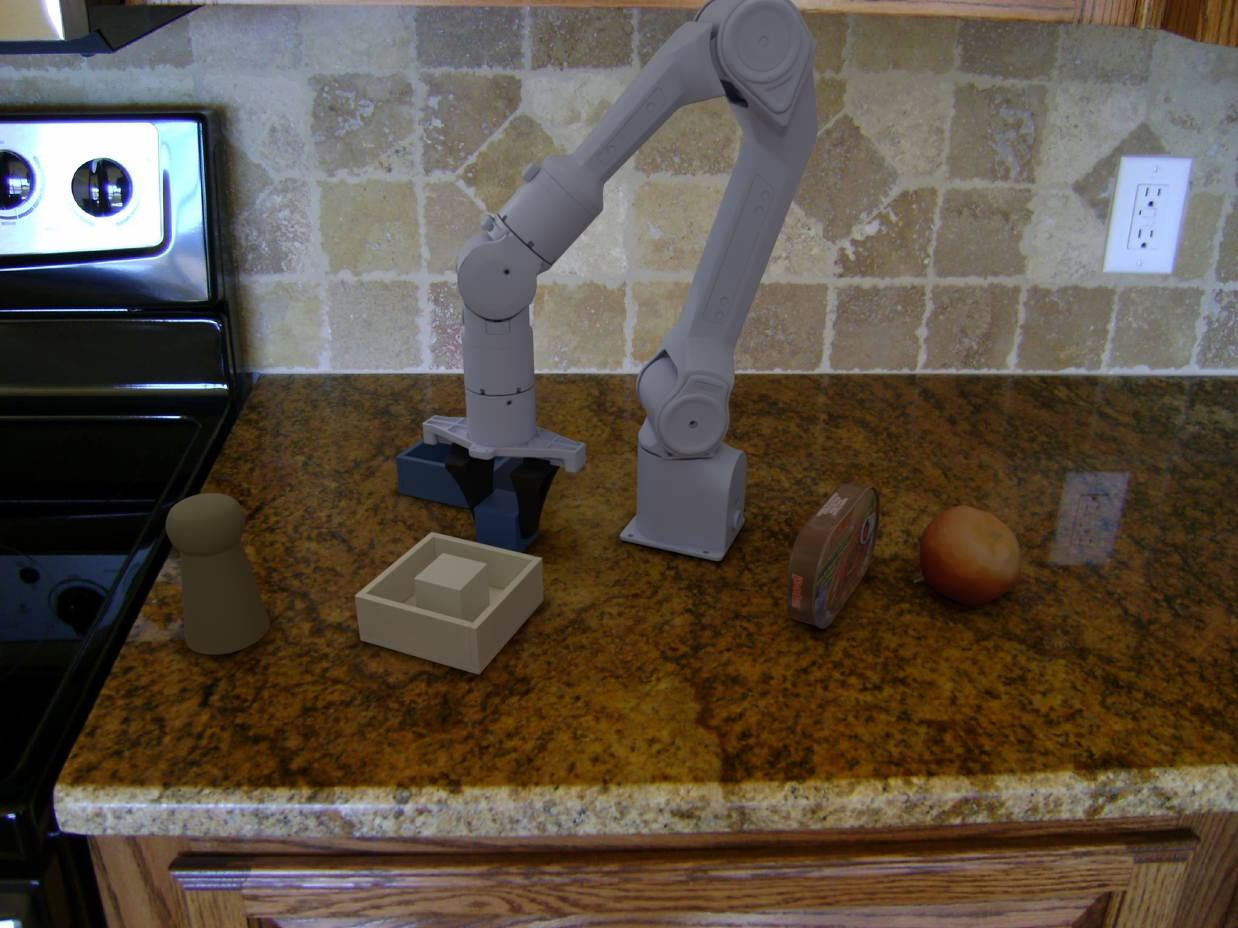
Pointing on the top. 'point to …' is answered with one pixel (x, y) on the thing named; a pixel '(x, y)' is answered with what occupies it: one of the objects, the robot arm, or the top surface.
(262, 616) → the cork
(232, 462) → the top surface
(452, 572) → the cream block
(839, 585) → the tin
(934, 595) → the top surface
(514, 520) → the blue block
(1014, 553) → the fruit
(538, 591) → the cream bin
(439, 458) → the blue bin
